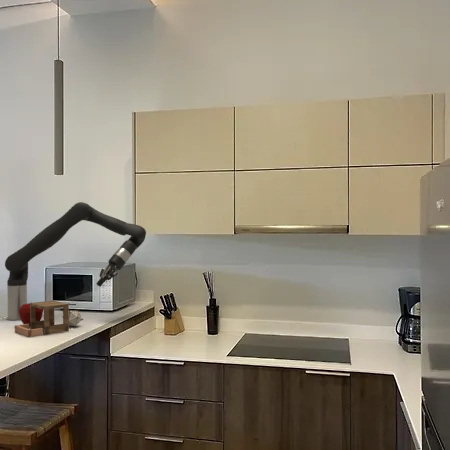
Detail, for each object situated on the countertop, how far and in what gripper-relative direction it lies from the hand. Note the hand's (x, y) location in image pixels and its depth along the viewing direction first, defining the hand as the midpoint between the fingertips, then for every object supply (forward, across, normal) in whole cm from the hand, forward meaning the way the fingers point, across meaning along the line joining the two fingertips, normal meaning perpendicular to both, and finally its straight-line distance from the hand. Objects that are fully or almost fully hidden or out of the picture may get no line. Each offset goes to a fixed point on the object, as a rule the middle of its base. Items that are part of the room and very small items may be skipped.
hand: (98, 285), depth 248 cm
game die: (+23, 0, +3) cm, 23 cm away
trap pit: (+37, 0, -12) cm, 39 cm away
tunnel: (+31, 0, -5) cm, 31 cm away
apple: (+32, -16, -6) cm, 36 cm away
